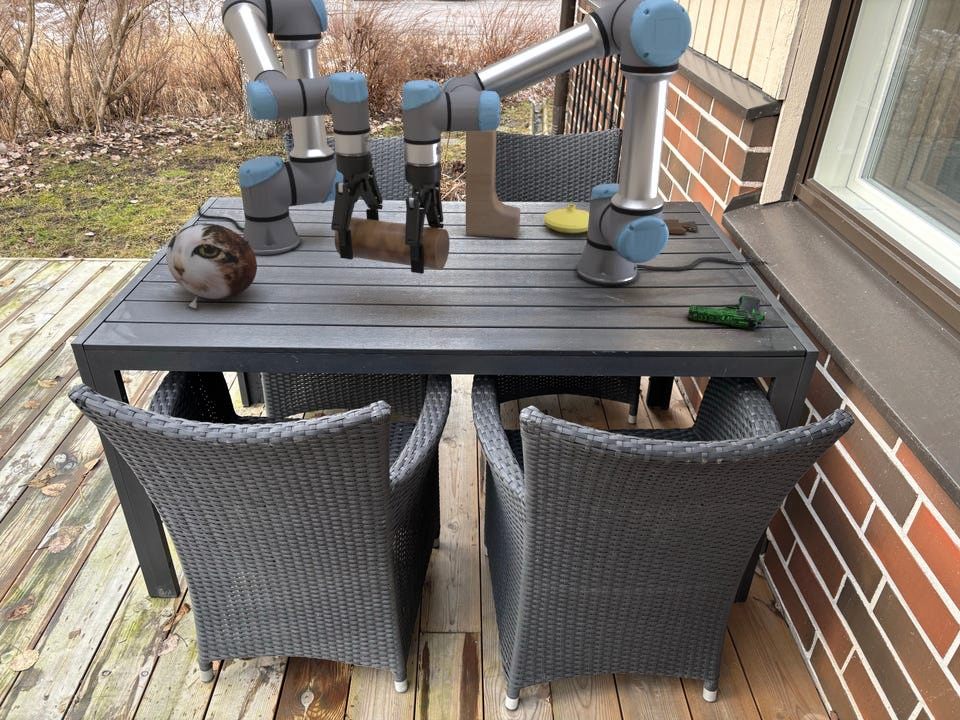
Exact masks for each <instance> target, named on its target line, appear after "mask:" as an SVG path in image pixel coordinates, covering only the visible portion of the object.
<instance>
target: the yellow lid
mask: <svg viewBox="0 0 960 720" xmlns="http://www.w3.org/2000/svg"><path fill="white" fill-rule="evenodd" d="M588 221H589V211H587V210H584V209H578V208H576V205H575V204H571V203H570V204H567V208H557V209H552V210H549V211H548V212H547V213H545V214H544V216H543V222H544V225H545V226H546V227H548V228H550V229H551V230H554V231H556V232H559V233H564V234H580V233H584V232H585V233H586V232H588Z"/></svg>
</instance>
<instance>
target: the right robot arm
mask: <svg viewBox="0 0 960 720" xmlns="http://www.w3.org/2000/svg"><path fill="white" fill-rule="evenodd" d="M692 27H693V26H692V22H691V18H690V16H689V13H688V11H687V10H686V9H685V8H684V6H683V5H682V4H681V3H679V2H678V1H676V0H613V1H611V2H609V3H607V4H605V5H603V6H602V7H599V8H598V9H597V8H596V9H595V10H593V11H591V12H589V13H586V14H585V15H584V17H583V20H582V21H581V22H579V23H577V24H575V25H572V26H571V27H569V28H566V29H564V30H562V31H560V32H558V33H556V34H553V35H551V36H549V37H546V38H545V39H543V40H541V41H538V42H536V43H534V44H532V45H530V46H528V47H526V48H523V49H521V50H519V51H516V52H514V53H512V54H510V55H508V56H505V57H504V58H502V59H499V60H498V61H495V62H493V63H491V64H489V65H486V66H484V67H482V68H480V69H478V70H475V71H474V72H472V73H469V74H467V75H465V76H463V77H460V76H454V77H451V78H449V79H448V80H446V81H445V82H444V84H443V85H442V87H441V86H440V84H439V82H437V81H434V80H425V79H418V80H411V81H408V82H406V83H404V85H402V89H401V91H402V93H401V102H402V103H401V117H402V131H403V132H402V134H403V160H404V162H405V163H404V179H405V181H406V183H408V184H410V185H411V186H412V190H411V196H406V197H405V208H406V210H405V224H406V229H405V245H410V257H411V266H410V273H413V274H419V275H420V274H421V275H424V273H425V268H424V254H423V244H421V241H422V234H423V227H425V219H426V222H427V226H428V227H432V228H440V229H444V227H445V225H444V223H443V222H444V211H443V203H442V202H443V201H442V193H441V192H442V191H441V190H442V189H441V188H442V187H441V186H442V182H441V181H442V179H443V177H442V163H441V162H440V161H441V160H442V152H444V148H443V147H442V143H441V141H442V133H449V132H451V133H452V132H453V133H455V132H466V131H481V132H483V131H487V130H495V129H496V130H498V127H499V126H500V124H501V119H502V103H501V101H503V100H505V99H507V98H509V97H511V96H513V95H515V94H518V93H519V92H522V91H524V90H526V89H527V90H528V89H529V88H531V87H533V86H536V85H538V84H540V83H542V82H544V81H546V80H549V79H551V78H553V77H555V76H557V75H560V74H562V73H564V72H566V71H569V70H571V69H573V68H575V67H577V66H580V65H581V64H583V63H586V62H588V61H590V60H592V59H597V60H599V61H602V60H605V59H606V58H609V57H612V56H616V55H620V59H619V72H620V73H621V74H622V75H623V76H624V78H625V81H626V82H625V94H624V95H625V96H624V99H625V100H624V109H623V124H622V125H623V126H622V139H621V151H620V154H621V155H620V165H619V166H620V168H619V181H618V183H603V184H602V183H601V184H598V185H595V186H594V187H593V188H592V190H591V193H590V198H589V210H588V212H589V221H588V231H586V232H587V234H586V243H585V247H584V248H583V250H582V253H581V255H580V258H579V260H578V262H577V265H576V274H577V276H578V277H579V278H580V279H581V280H583V281H585V282H588V283H590V284H594V285H598V286H606V287H618V286H624V285H628V284H631V283H633V282H634V281H635V280H636V279H637V277H638V269H642V270H650V271H662V272H663V271H664V272H665V271H666V272H673V271H674V272H675V271H684V270H689V269H692V268H694V267H695V266H696V265H697V264H699V263H700V262H707V261H709V262H710V261H712V262H719V263H725V264H731V265H746V264H750V263H754V262H758V261H757V258H756V257H752V258H750V259H744V260H745V261H746V262H735V261H732V260H733V259H728V258H722V257H715V256H703V257H700V258H696V259H695V260H694V261H693V262H692V263H690V264H687V265H682V266H655V265H654V266H653V265H645V264H644V263H647V262H650V261H652V260H653V259H655V258H656V257H657V256H659V254H662V252H663V251H664V249H665V248H666V247H667V244H668V242H669V237H670V233H669V231H668V228H667V225H666V223H665V222H664V221H663V220H662V219H663V216H664V214H663V213H664V204H665V200H664V198H663V197H662V196H661V195H660V194H659V186H660V175H661V165H662V156H663V145H664V134H665V124H666V114H667V108H668V107H667V106H668V105H667V104H668V95H669V88H670V87H669V85H670V80H671V79H672V77H674V76H675V74H677V73H678V71H679V63H680V59H681V58H682V56H683V54H684V53H686V52H687V50H688V48H689V46H690V43H691V39H692V33H693V32H692V31H693V29H692ZM728 260H731V261H728Z"/></svg>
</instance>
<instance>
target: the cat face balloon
mask: <svg viewBox="0 0 960 720" xmlns="http://www.w3.org/2000/svg"><path fill="white" fill-rule="evenodd" d="M248 242H249V241H246V240H245V239H244V238H243V236H242V235H240V234H239V233H238V232H236V231H234V230H233V229H231V228H229V227H226V226H223V225H220V224H215V223H205V222H204V223H195V224H191V225H188V226H186V227H183V228H182V229H180V230H179V231H177V232H176V233H175V234H174V235H173V237H171V239H170V241H169V243H168V245H167V248H166V254H165V260H166V265H167V268H168V271H169V273H170V275H171V276H172V277H173V279H174V280H175V281H176V282H177V284H178V285H180V286H181V287H182V288H183V289H185V290H186V291H187V292H189V293H191V294H194V295H195V298H194V299H193V300H192V302H190V303H189V304H188V306H189V307H191V308H192V309H197V308H198V307H197V298H198V297H201V298H205V299H210V300H226V299H230V298H233V297H236V296H238V295H241V294H242V293H244V292H245V291H247V290H248V289H249V288H250V286H251V285H252V284H253V282H254V280H255V278H256V275H257V271H258V262H257V257H256V254H254V252H253V250H252V248H251V247H250V245H249V244H248Z"/></svg>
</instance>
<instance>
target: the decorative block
mask: <svg viewBox="0 0 960 720" xmlns="http://www.w3.org/2000/svg"><path fill="white" fill-rule="evenodd" d="M496 165H497V129H495V130H487V131H483V132H481V131H465V235H466V236H471V237H472V236H474V237H490V238H491V237H492V238H503V239H504V238H506V239H517V238H518V236H519V232H520V227H521V225H520V224H521V208H520V207H517V206H513V205H507V204H505V203H504V202H502V201H501V200H500V199H499V196H498V194H497V191H496V169H497V168H496V167H497V166H496Z"/></svg>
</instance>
